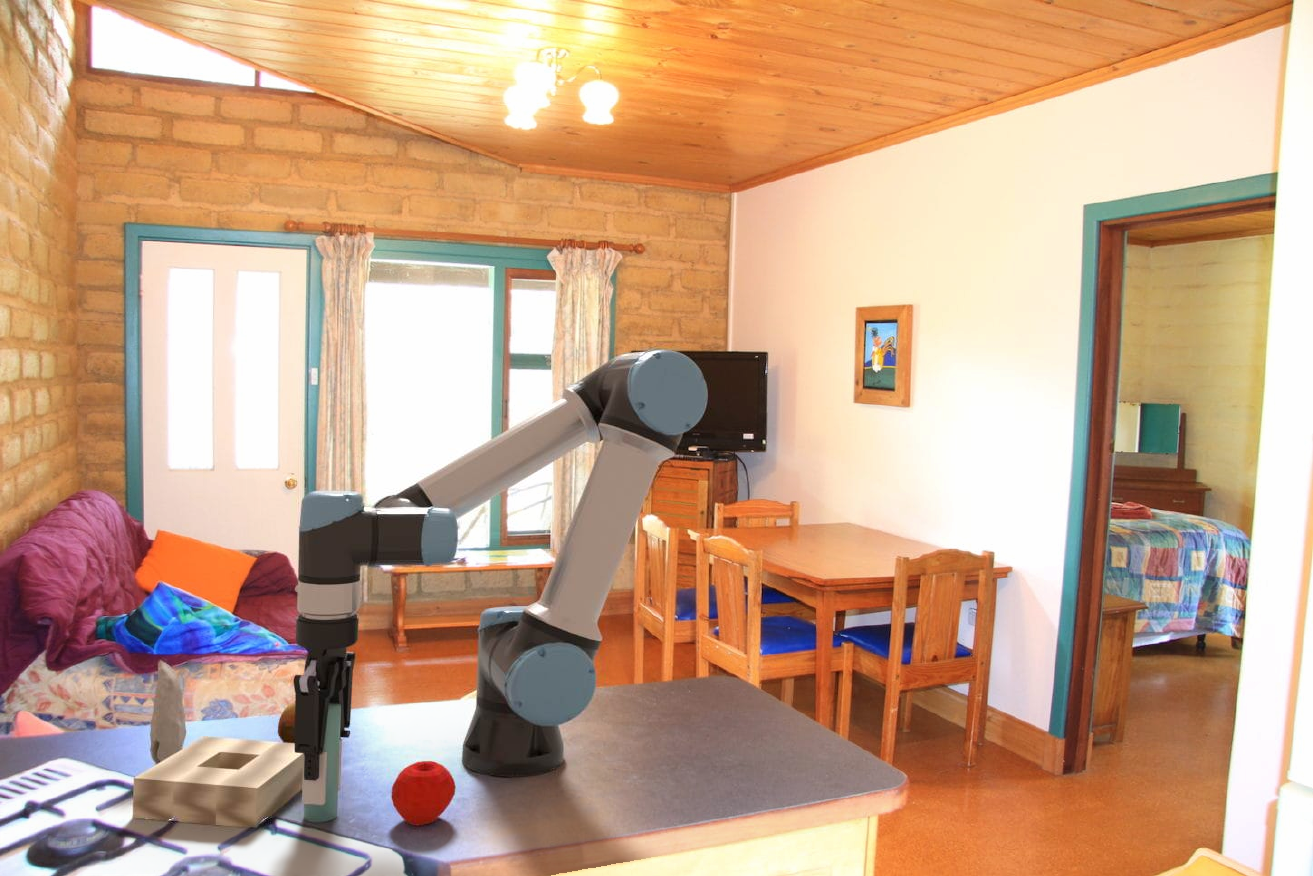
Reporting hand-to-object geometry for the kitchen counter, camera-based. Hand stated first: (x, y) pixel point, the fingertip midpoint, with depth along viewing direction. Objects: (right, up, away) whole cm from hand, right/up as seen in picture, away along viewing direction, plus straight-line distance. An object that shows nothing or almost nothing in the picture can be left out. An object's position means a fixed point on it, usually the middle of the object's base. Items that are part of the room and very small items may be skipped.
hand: (321, 795), depth 126 cm
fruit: (-10, -2, +23) cm, 25 cm away
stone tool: (-27, -1, +14) cm, 31 cm away
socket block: (-14, -2, +4) cm, 15 cm away
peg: (0, -3, 0) cm, 3 cm away
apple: (+13, -3, 0) cm, 13 cm away
